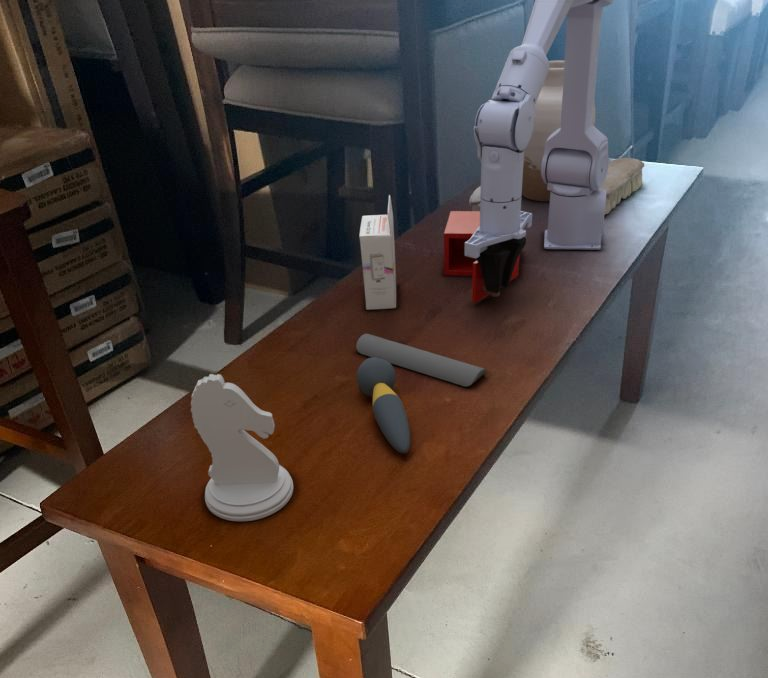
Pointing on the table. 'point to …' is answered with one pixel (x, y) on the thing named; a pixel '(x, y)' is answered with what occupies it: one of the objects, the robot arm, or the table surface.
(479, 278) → the red cabinet door
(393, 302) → the ink cartridge box
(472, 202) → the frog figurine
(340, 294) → the table surface
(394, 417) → the wand massager
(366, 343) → the gray half cylinder
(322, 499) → the table surface
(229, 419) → the chess piece
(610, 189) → the shoe brush
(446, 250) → the cabinet
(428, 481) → the table surface
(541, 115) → the vase
